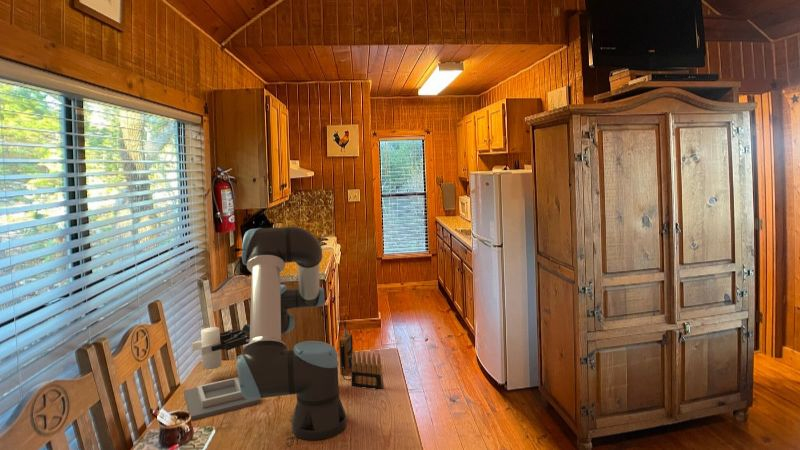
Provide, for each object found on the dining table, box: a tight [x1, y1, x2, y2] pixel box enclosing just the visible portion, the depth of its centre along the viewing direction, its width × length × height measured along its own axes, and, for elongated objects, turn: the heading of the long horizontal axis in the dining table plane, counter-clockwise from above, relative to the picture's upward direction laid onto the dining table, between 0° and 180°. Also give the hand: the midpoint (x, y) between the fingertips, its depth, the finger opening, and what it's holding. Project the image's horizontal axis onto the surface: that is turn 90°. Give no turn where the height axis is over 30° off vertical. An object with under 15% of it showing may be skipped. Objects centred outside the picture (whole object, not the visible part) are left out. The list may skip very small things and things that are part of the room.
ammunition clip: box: [351, 350, 384, 390], centre depth 155 cm, size 11×2×12 cm, turn 72°
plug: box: [200, 326, 223, 370], centre depth 164 cm, size 6×6×13 cm
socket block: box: [183, 376, 261, 421], centre depth 150 cm, size 20×20×3 cm
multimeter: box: [338, 314, 354, 381], centre depth 167 cm, size 15×10×20 cm
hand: (196, 349), depth 160 cm, fingers closed on plug, 6 cm apart
